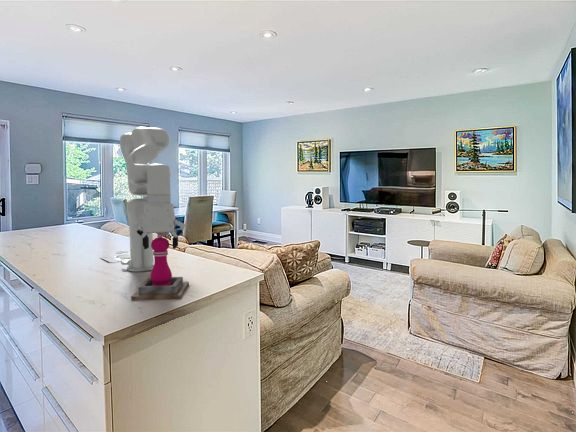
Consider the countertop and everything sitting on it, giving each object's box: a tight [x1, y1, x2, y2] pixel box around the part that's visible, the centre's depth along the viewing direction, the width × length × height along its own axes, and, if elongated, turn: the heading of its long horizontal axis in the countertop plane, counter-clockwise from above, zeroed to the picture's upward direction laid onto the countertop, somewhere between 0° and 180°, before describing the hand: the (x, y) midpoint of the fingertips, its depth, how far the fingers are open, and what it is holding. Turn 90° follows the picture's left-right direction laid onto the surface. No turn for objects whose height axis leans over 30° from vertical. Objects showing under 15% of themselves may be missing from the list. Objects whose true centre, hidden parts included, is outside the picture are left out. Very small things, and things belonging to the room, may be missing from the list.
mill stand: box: [130, 276, 190, 301], centre depth 125 cm, size 16×16×4 cm
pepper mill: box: [149, 233, 173, 286], centre depth 124 cm, size 7×7×20 cm
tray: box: [114, 250, 155, 261], centre depth 182 cm, size 20×28×4 cm
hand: (160, 248), depth 123 cm, fingers open, 9 cm apart
